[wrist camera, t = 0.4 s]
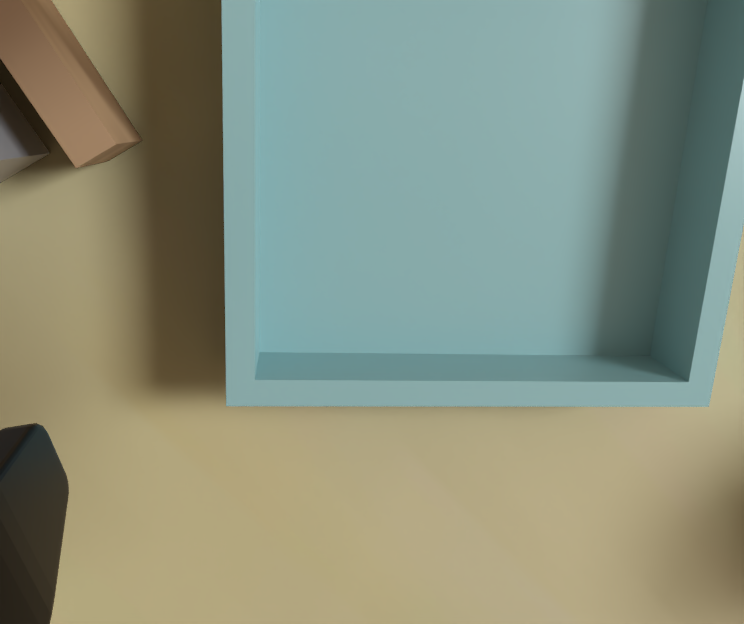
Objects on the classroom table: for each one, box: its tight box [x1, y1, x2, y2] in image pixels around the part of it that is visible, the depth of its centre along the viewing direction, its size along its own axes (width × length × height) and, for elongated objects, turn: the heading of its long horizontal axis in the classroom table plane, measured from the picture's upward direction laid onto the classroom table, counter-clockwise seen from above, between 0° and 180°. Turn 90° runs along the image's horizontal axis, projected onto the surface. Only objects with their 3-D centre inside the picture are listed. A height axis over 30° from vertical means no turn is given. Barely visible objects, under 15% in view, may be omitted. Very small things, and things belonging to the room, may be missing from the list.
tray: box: [221, 0, 744, 407], centre depth 20 cm, size 15×15×3 cm
